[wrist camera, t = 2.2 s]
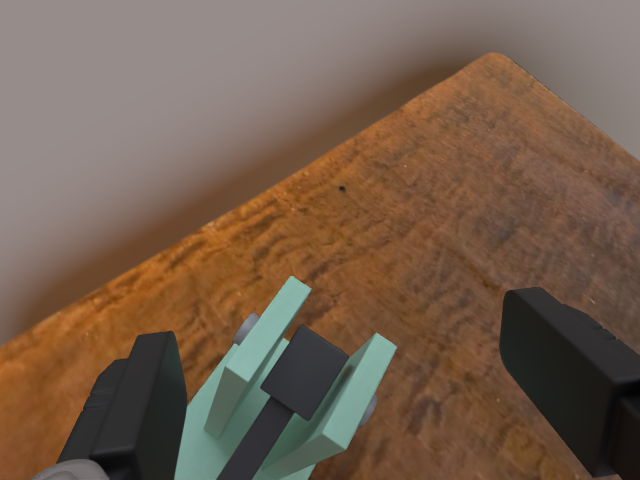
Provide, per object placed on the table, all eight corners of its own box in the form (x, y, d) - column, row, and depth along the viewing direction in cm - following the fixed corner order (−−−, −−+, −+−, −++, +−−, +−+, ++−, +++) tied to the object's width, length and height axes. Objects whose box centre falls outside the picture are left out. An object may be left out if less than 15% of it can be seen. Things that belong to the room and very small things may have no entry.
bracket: (267, 549, 26) (345, 565, 14) (147, 462, 26) (131, 411, 15) (350, 391, 31) (454, 313, 20) (250, 323, 32) (296, 209, 20)
